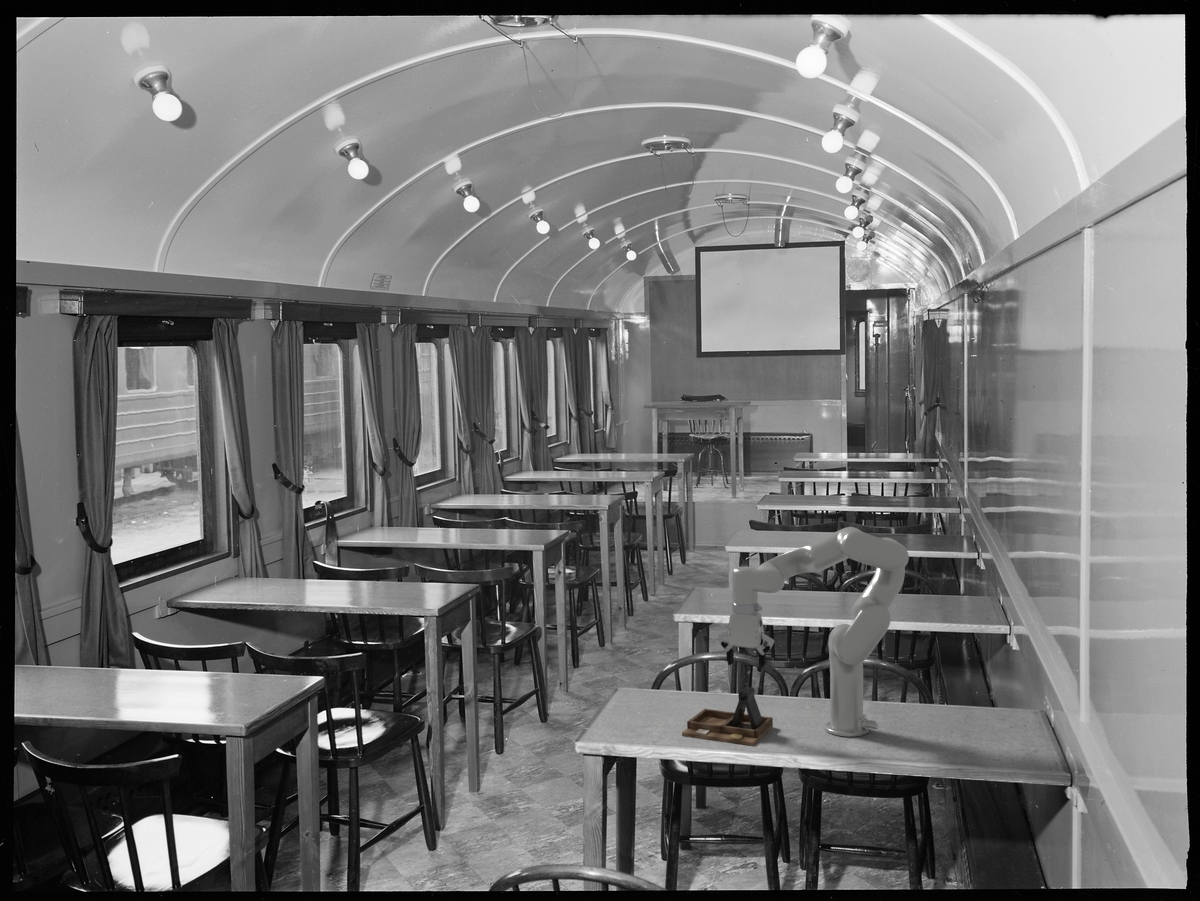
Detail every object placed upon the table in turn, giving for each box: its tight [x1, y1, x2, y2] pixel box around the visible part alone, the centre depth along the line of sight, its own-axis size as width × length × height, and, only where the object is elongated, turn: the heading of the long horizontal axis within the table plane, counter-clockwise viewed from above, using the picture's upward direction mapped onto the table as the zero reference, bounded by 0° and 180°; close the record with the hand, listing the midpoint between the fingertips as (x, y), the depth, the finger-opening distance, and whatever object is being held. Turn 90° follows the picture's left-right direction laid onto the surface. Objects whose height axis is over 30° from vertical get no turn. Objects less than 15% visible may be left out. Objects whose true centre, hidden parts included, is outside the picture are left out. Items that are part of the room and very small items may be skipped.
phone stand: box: [730, 685, 763, 730], centre depth 318 cm, size 9×6×12 cm, turn 62°
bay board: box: [681, 708, 774, 747], centre depth 319 cm, size 22×18×3 cm
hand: (746, 665), depth 318 cm, fingers open, 9 cm apart
